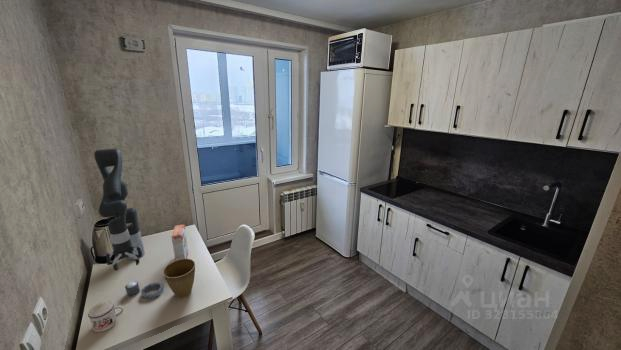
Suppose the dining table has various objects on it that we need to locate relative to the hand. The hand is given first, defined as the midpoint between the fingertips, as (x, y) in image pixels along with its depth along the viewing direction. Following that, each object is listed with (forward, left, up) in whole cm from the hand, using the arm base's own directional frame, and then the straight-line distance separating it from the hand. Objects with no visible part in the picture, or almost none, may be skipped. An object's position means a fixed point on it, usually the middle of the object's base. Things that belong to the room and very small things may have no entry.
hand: (127, 267), depth 129 cm
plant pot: (+13, +23, -16) cm, 31 cm away
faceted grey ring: (+5, +9, -16) cm, 19 cm away
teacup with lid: (+17, -8, -16) cm, 25 cm away
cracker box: (-20, +25, -16) cm, 36 cm away
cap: (0, 0, -16) cm, 16 cm away
